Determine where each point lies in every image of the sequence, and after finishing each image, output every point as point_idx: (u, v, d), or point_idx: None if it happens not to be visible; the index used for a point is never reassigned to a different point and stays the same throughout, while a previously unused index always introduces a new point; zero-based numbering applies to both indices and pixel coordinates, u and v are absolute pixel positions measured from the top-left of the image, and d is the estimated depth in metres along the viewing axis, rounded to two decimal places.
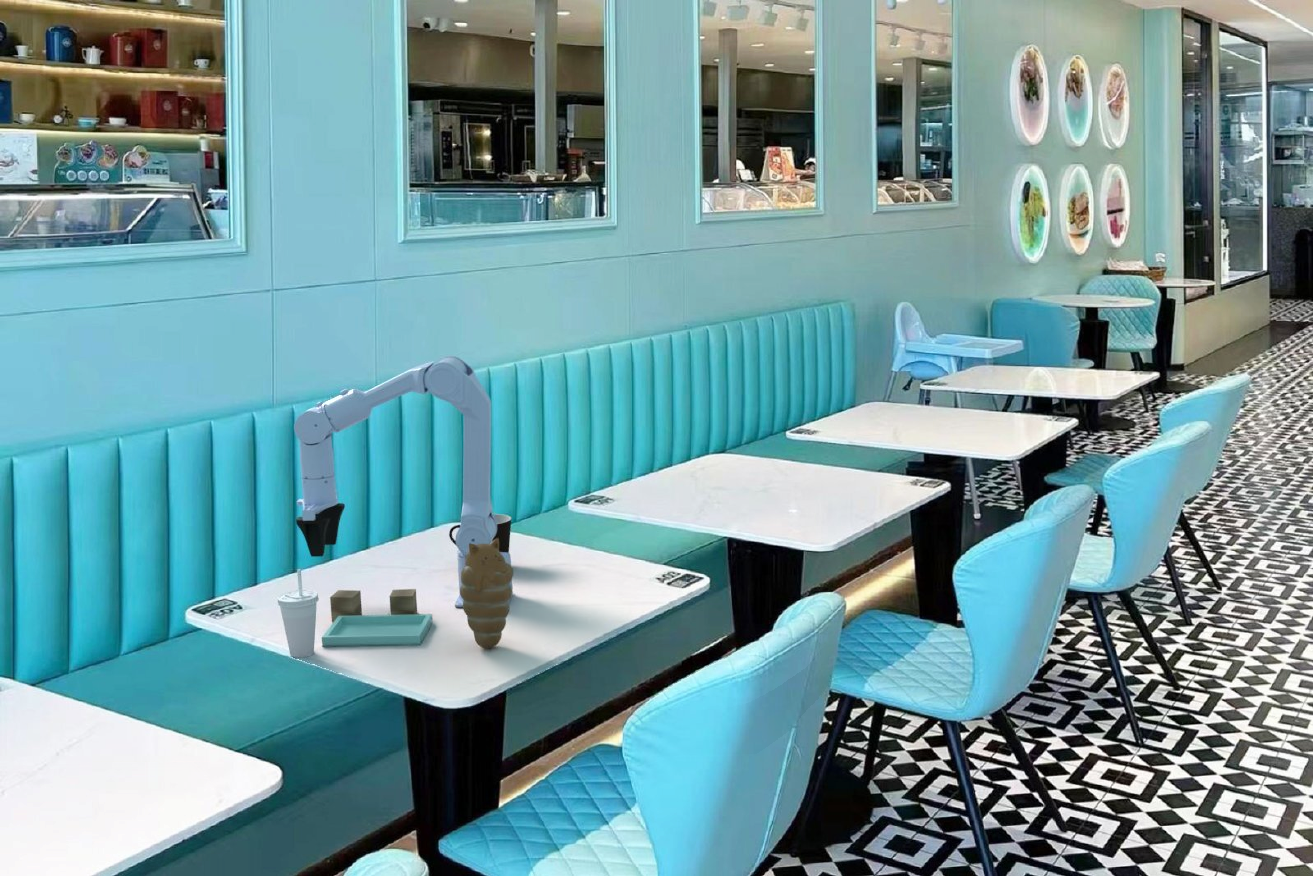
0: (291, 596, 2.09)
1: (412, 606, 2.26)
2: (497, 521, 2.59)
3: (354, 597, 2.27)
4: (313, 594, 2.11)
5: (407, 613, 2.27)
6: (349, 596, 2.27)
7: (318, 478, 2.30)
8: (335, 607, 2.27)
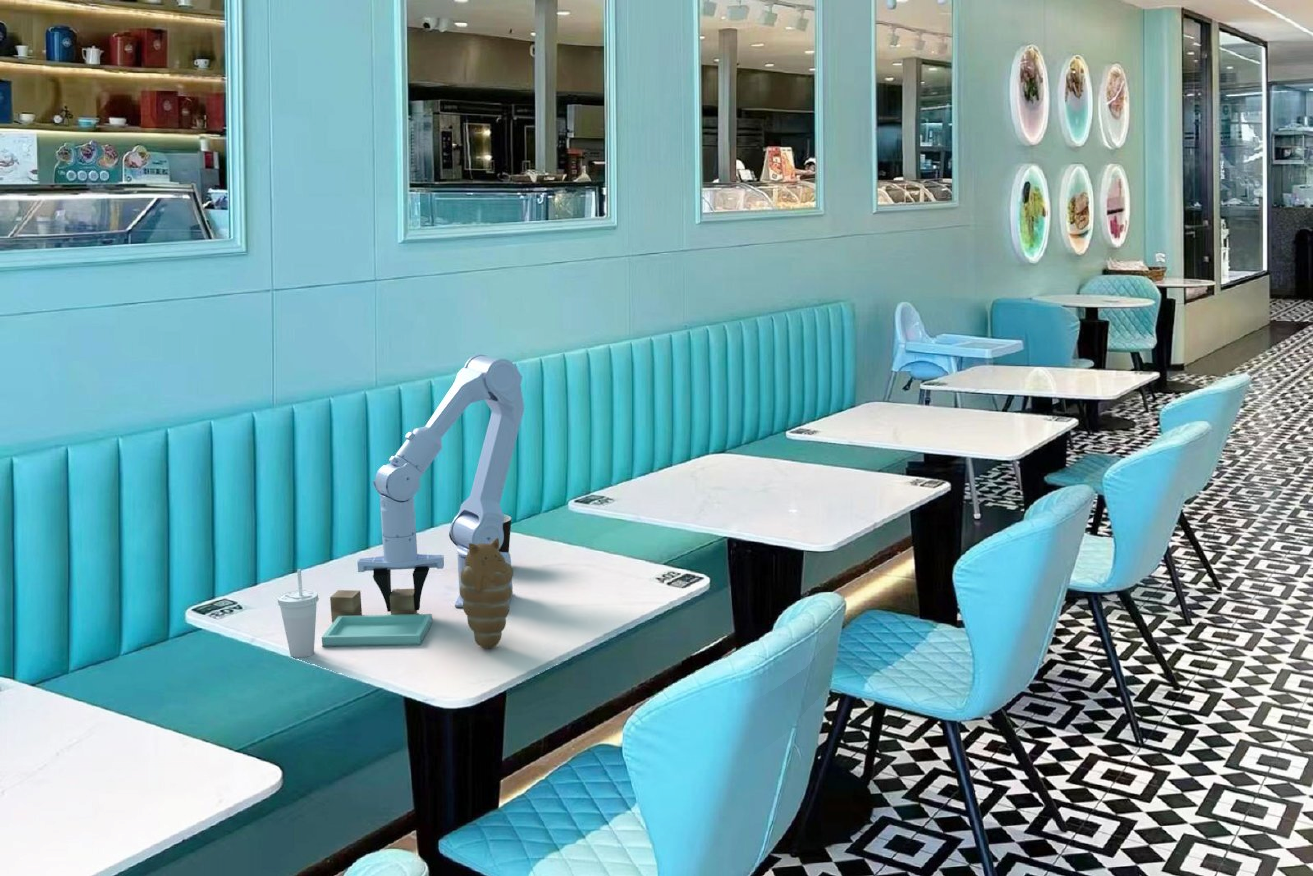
0: (291, 596, 2.09)
1: (413, 605, 2.26)
2: None
3: (353, 597, 2.27)
4: (313, 594, 2.11)
5: (407, 613, 2.27)
6: (349, 596, 2.27)
7: (382, 534, 2.25)
8: (335, 607, 2.27)
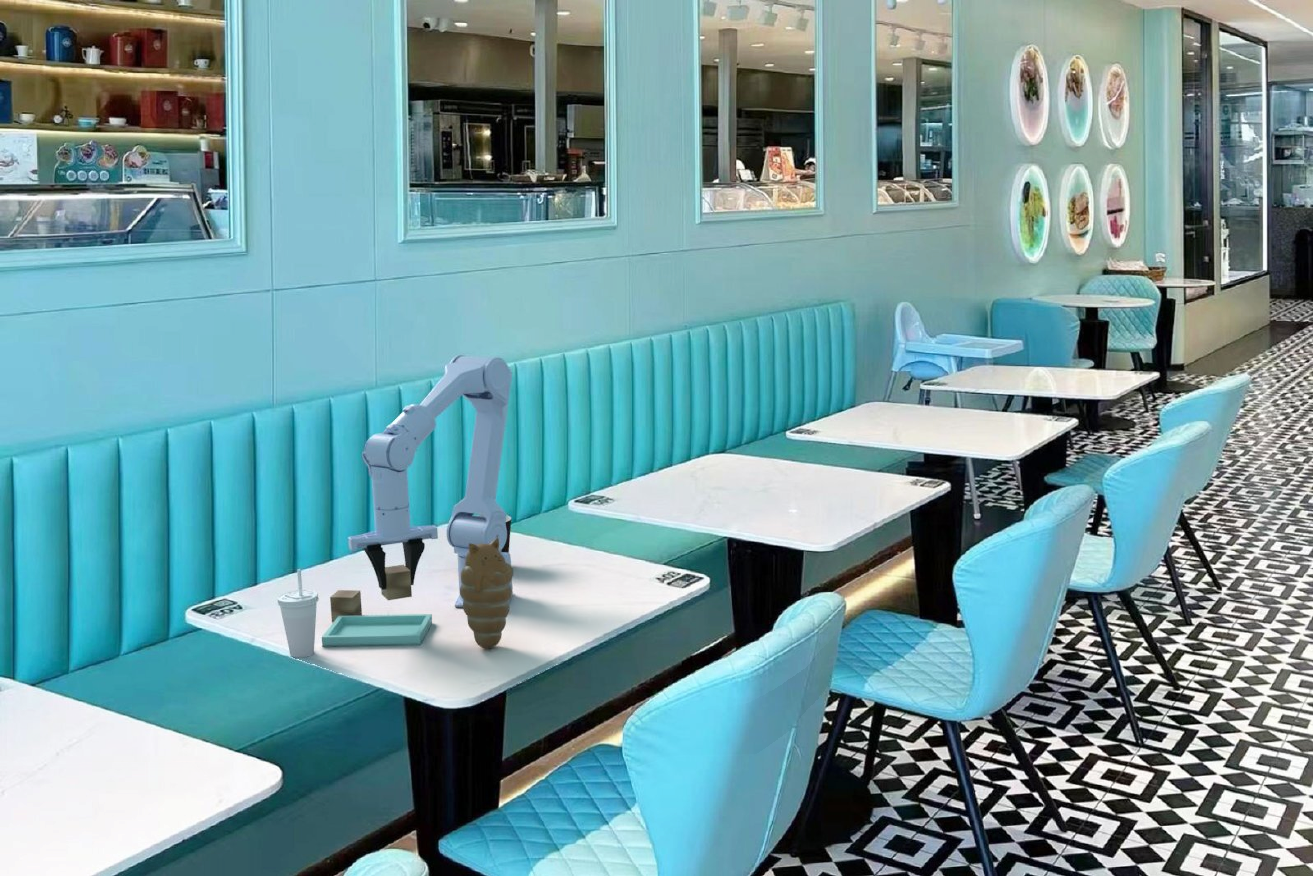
0: (291, 596, 2.09)
1: (410, 581, 2.17)
2: None
3: (354, 597, 2.27)
4: (313, 594, 2.11)
5: (404, 589, 2.17)
6: (349, 595, 2.27)
7: (376, 508, 2.14)
8: (335, 607, 2.27)
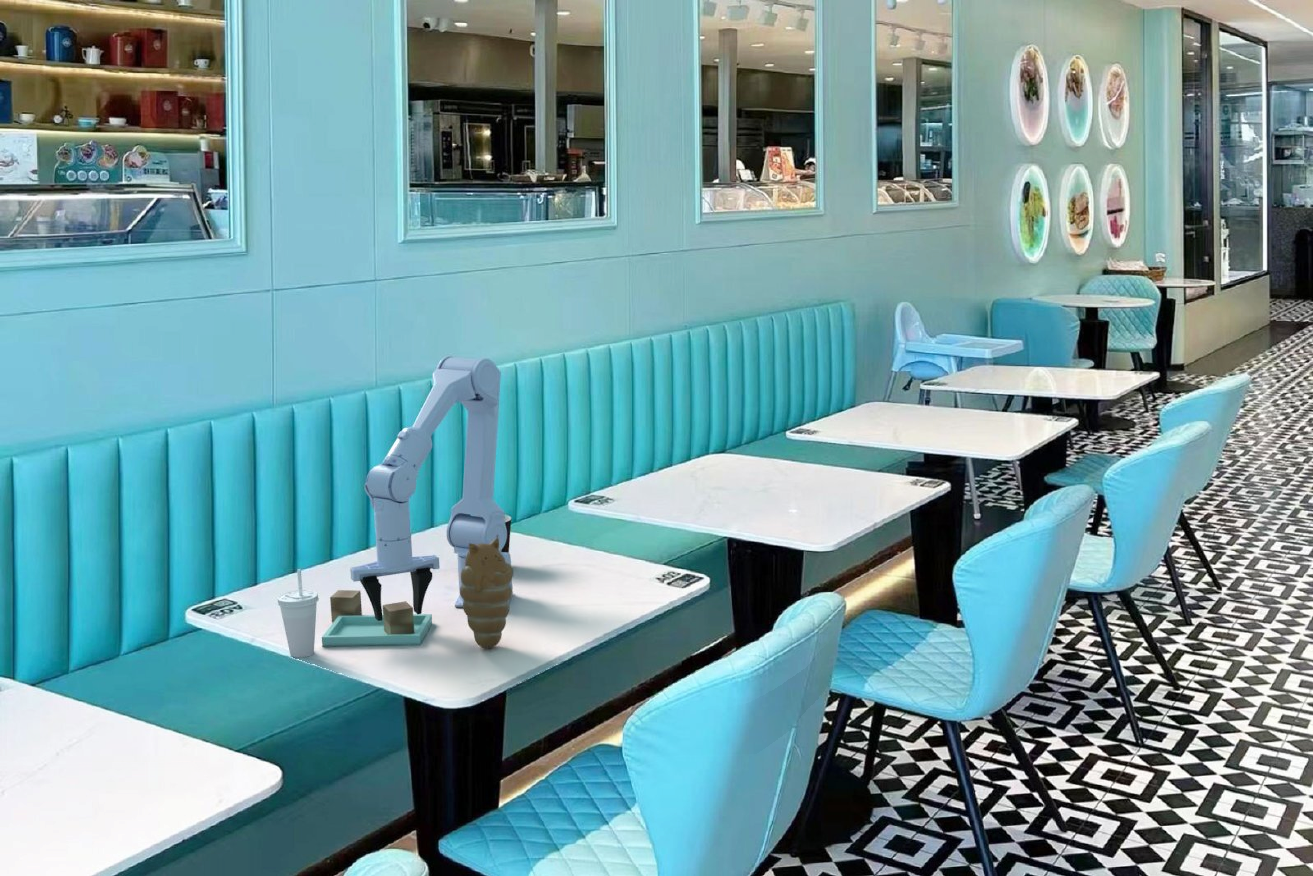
0: (291, 596, 2.09)
1: (412, 618, 2.19)
2: None
3: (354, 597, 2.27)
4: (313, 594, 2.11)
5: (407, 626, 2.18)
6: (349, 596, 2.27)
7: (378, 539, 2.15)
8: (335, 607, 2.27)
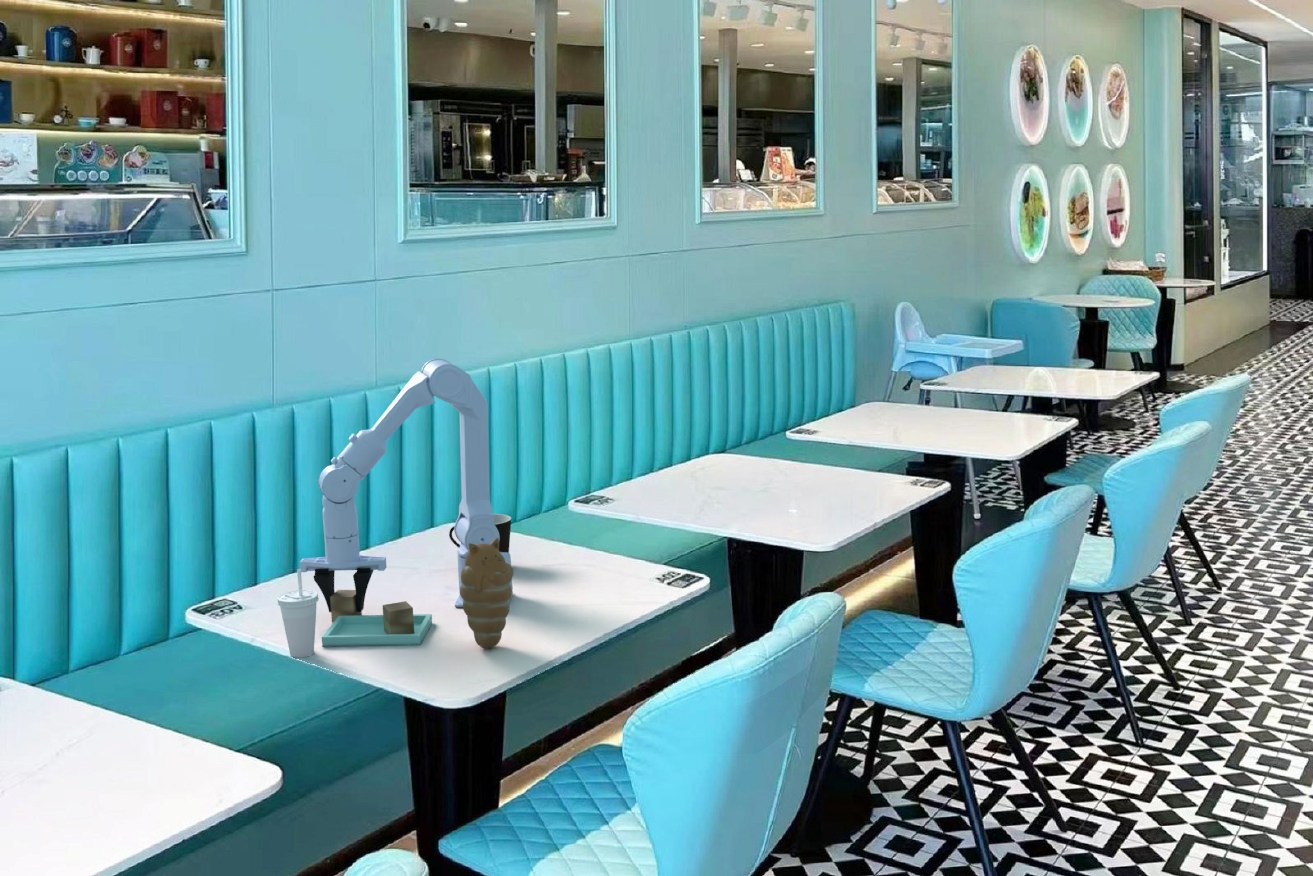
0: (291, 596, 2.09)
1: (412, 618, 2.19)
2: (497, 521, 2.59)
3: (354, 596, 2.27)
4: (313, 594, 2.11)
5: (407, 626, 2.18)
6: (349, 595, 2.27)
7: (324, 535, 2.25)
8: (335, 607, 2.27)
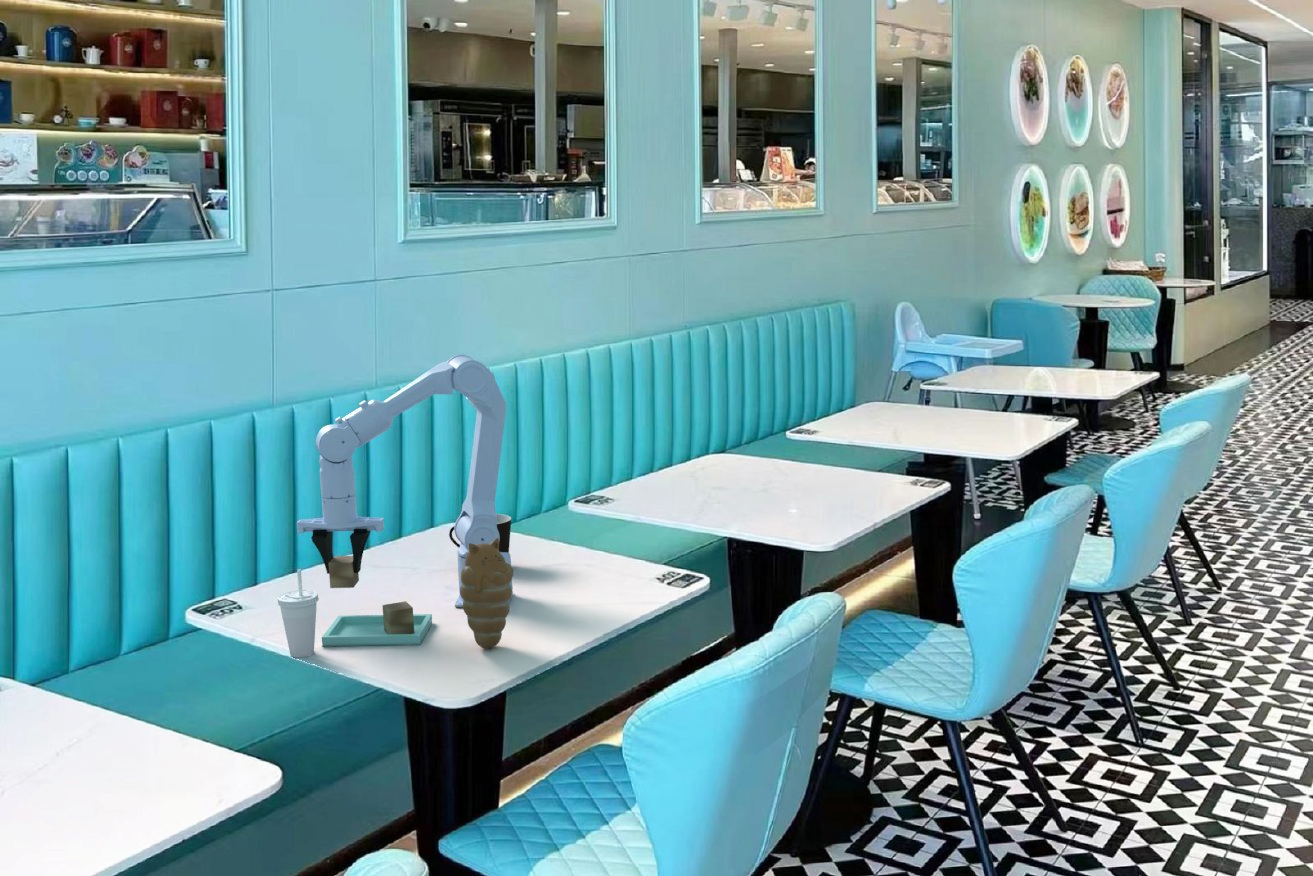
0: (291, 596, 2.09)
1: (412, 618, 2.19)
2: (497, 521, 2.59)
3: (352, 562, 2.26)
4: (313, 594, 2.11)
5: (407, 626, 2.18)
6: (347, 561, 2.26)
7: (321, 496, 2.24)
8: (334, 573, 2.25)
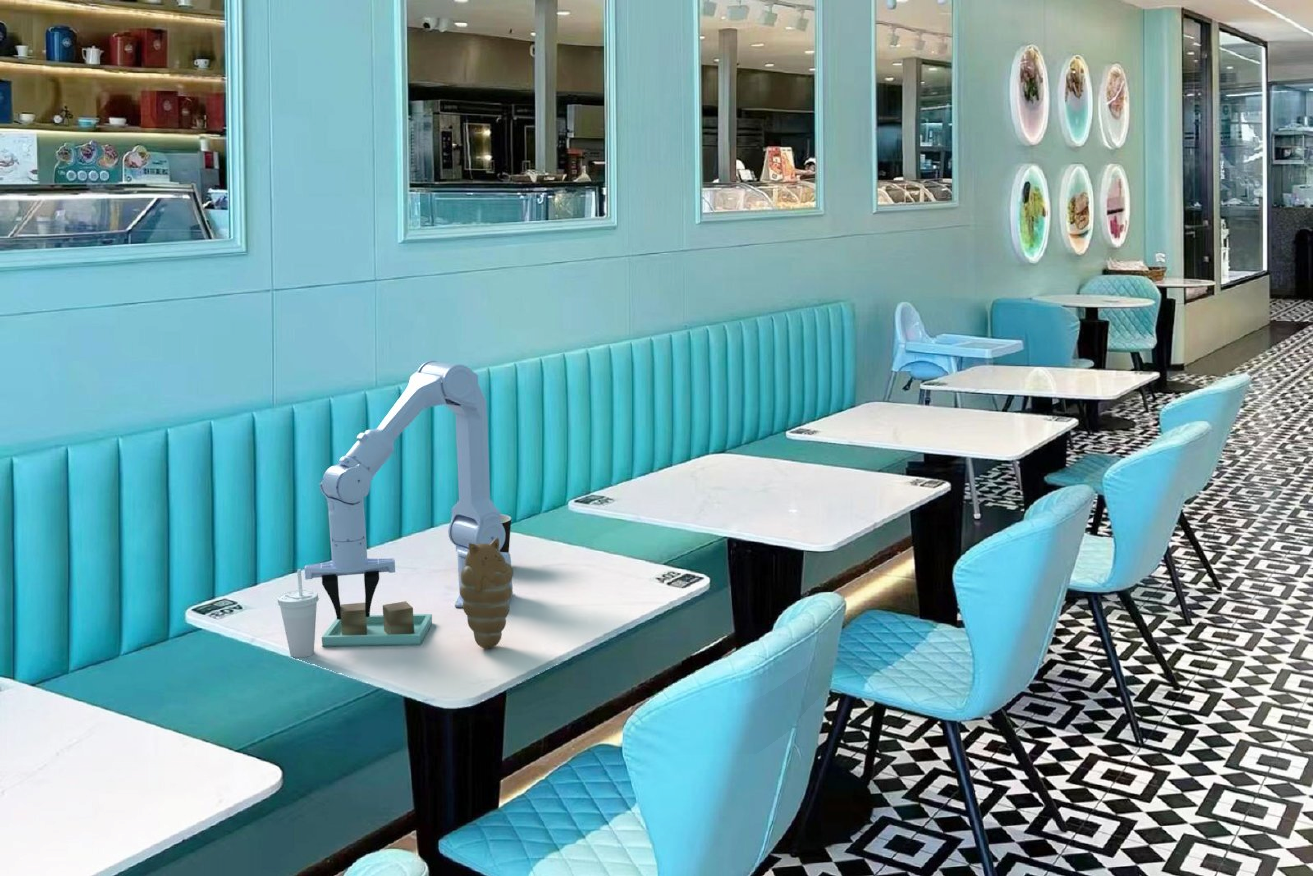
0: (291, 596, 2.09)
1: (412, 618, 2.19)
2: None
3: None
4: (313, 594, 2.11)
5: (407, 626, 2.18)
6: (359, 608, 2.18)
7: (331, 539, 2.15)
8: (346, 622, 2.17)
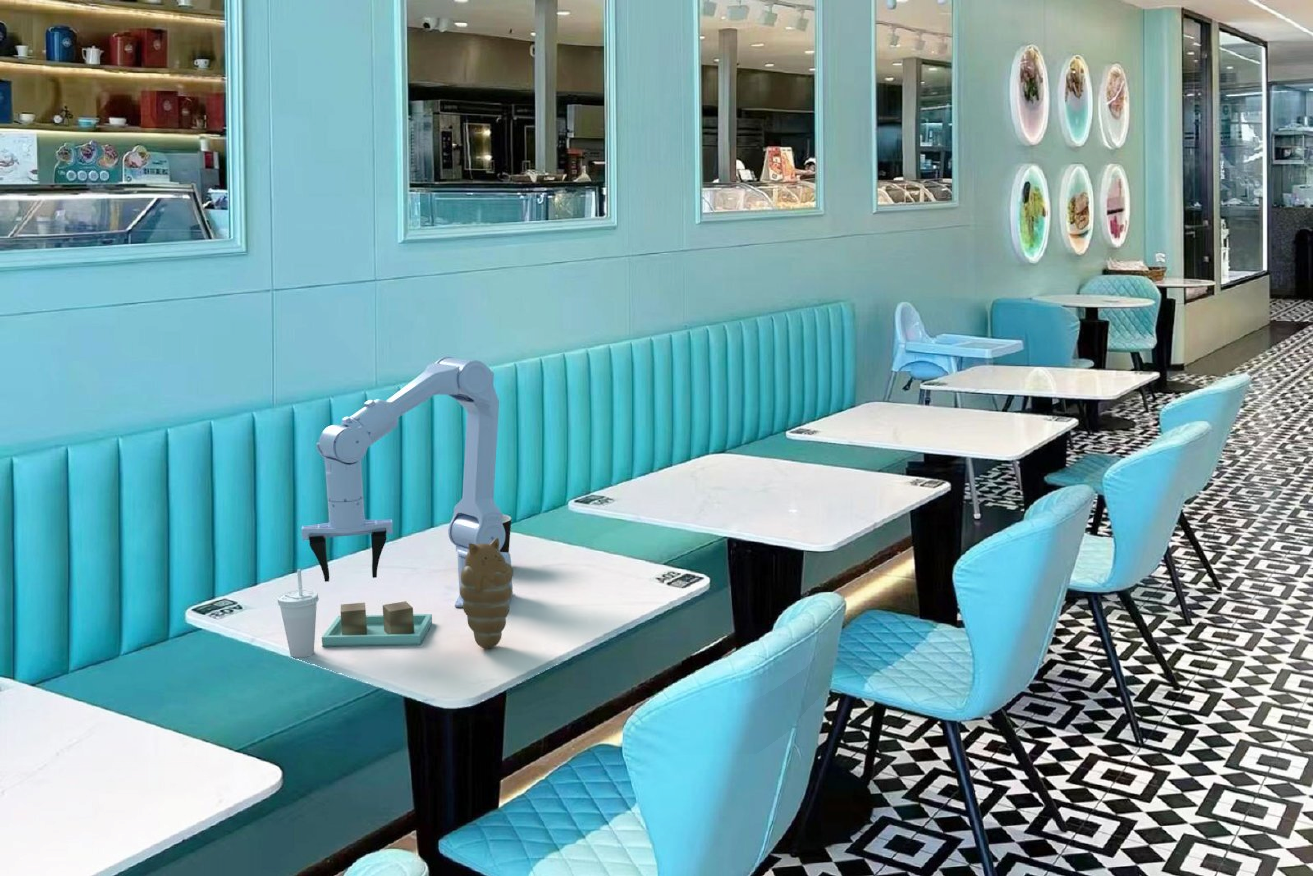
0: (291, 596, 2.09)
1: (412, 618, 2.19)
2: None
3: (365, 609, 2.19)
4: (313, 594, 2.11)
5: (407, 626, 2.18)
6: (359, 608, 2.18)
7: (328, 499, 2.14)
8: (346, 622, 2.17)
